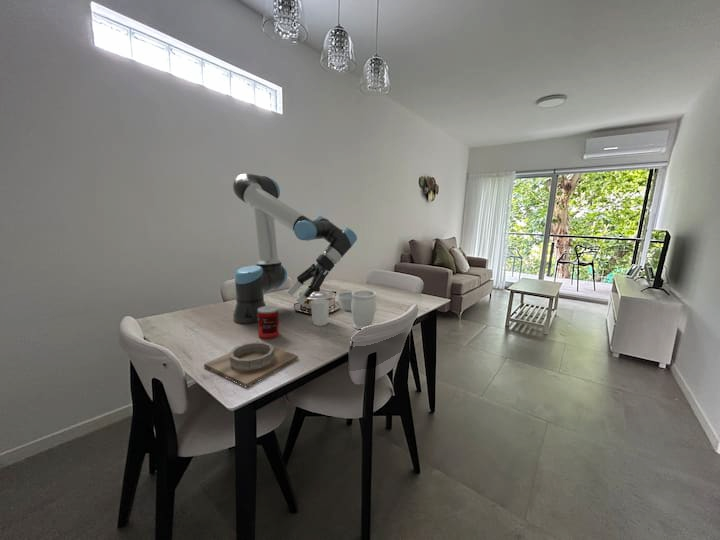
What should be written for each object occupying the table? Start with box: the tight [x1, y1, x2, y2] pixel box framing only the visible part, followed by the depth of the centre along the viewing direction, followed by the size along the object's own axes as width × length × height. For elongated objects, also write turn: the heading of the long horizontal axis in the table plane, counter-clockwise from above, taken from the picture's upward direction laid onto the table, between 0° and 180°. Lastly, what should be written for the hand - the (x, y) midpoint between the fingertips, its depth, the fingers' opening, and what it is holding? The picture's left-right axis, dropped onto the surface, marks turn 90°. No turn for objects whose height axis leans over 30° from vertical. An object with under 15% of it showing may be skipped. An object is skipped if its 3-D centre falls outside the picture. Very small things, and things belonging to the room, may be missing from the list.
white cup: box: [310, 298, 330, 327], centre depth 128 cm, size 8×8×10 cm
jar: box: [350, 290, 377, 331], centre depth 125 cm, size 11×10×15 cm
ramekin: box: [337, 291, 353, 312], centre depth 151 cm, size 13×13×7 cm
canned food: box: [257, 305, 280, 340], centre depth 114 cm, size 8×8×11 cm
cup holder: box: [203, 341, 299, 388], centre depth 93 cm, size 20×20×4 cm
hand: (293, 298), depth 117 cm, fingers open, 13 cm apart
